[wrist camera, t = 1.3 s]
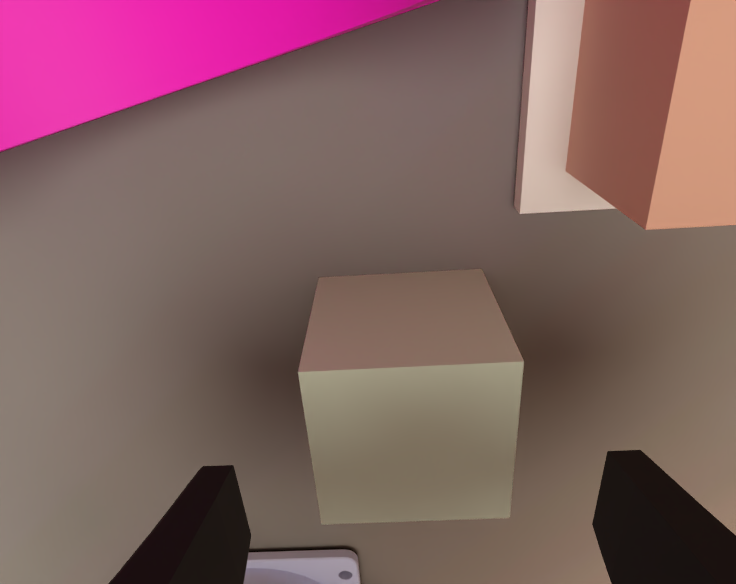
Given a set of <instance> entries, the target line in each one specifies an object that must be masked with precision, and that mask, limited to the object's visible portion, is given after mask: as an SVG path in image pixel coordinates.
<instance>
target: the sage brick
mask: <svg viewBox="0 0 736 584" xmlns="http://www.w3.org/2000/svg"><path fill="white" fill-rule="evenodd" d="M523 368H524V360H523V358H522V356H521V354H520V352H519V349H518V347H517V345H516V343H515V341H514V338H513V336H512V334H511V332H510V330H509V328H508V325H507V323H506V321H505V319H504V317H503V314H502V312H501V310H500V308H499V306H498V304H497V301H496V299H495V297H494V295H493V293H492V290H491V288H490V286H489V284H488V282H487V279H486V277H485V275H484V273H483V271H482V269H468V270H449V271H431V272H412V273H393V274H374V275H355V276H337V277H319V279H318V283H317V288H316V292H315V297H314V301H313V306H312V310H311V315H310V320H309V324H308V329H307V333H306V338H305V342H304V347H303V351H302V356H301V360H300V365H299V369H298V376H299V382H300V389H301V395H302V402H303V408H304V415H305V421H306V428H307V434H308V441H309V447H310V454H311V460H312V467H313V473H314V480H315V486H316V493H317V499H318V506H319V512H320V519H321V525H327V524H355V523H383V522H411V521H439V520H467V519H495V518H510V509H511V498H512V487H513V476H514V465H515V454H516V444H517V433H518V422H519V411H520V400H521V389H522V378H523Z"/></svg>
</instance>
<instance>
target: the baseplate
mask: <svg viewBox="0 0 736 584" xmlns="http://www.w3.org/2000/svg"><path fill="white" fill-rule="evenodd" d="M584 5H585V0H528V14H527V29H526V43H525V57H524V71H523V85H522V99H521V114H520V128H519V142H518V156H517V170H516V184H515V199H514V207H515V208H516V210H517V211H518V212H519V213H520V214H526V213H544V212H561V211H579V210H597V209H614V208H615V207H614V206H612V205H611V204H610V203H608V202H607V201H606V200H604V199H603V198H602V197H600V196H599V195H597V194H596V193H595V192H593V191H592V190H591V189H589V188H588V187H587V186H585V185H584V184H582V183H581V182H580V181H578V180H577V179H576V178H574V177H573V176H571V175H570V174H569V173H567V172H566V162H567V154H568V145H569V136H570V127H571V119H572V110H573V101H574V92H575V84H576V75H577V66H578V58H579V49H580V40H581V31H582V23H583V14H584Z"/></svg>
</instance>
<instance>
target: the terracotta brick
mask: <svg viewBox="0 0 736 584" xmlns="http://www.w3.org/2000/svg"><path fill="white" fill-rule="evenodd" d="M566 172H567V173H569V174H570V175H571V176H573V177H574V178H576V179H577V180H578V181H580V182H581V183H582V184H584V185H585V186H587V187H588V188H589V189H591V190H592V191H593V192H595V193H596V194H597V195H599V196H600V197H602V198H603V199H604V200H606V201H607V202H608V203H610V204H611V205H612V206H614V207H615V208H617V209H618V210H619V211H621V212H622V213H623V214H625V215H626V216H628V217H629V218H630V219H632V220H633V221H634V222H636V223H637V224H638V225H640V226H641V227H643V228H644V229H645V230H650V229H668V228H686V227H704V226H722V225H736V0H585V5H584V14H583V23H582V31H581V40H580V49H579V58H578V66H577V75H576V84H575V92H574V101H573V110H572V119H571V127H570V136H569V145H568V154H567V162H566Z"/></svg>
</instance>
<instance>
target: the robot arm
mask: <svg viewBox="0 0 736 584" xmlns="http://www.w3.org/2000/svg"><path fill="white" fill-rule="evenodd" d="M592 525H593V528H594V531H595V534H596V538H597V541H598V544H599V547H600V550H601V553H602V557H603V559H604V562H605V565H606V568H607V571H608V574H609V577H610V580H611V582H612V584H736V535H734V534H733V533H732V532H731V531H730V530H729V529H728V528H726V527H725V526H724V525H723V524H722V523H721V522H720V521H718V520H717V519H716V518H715V517H714V516H713V515H712V514H711V513H709V512H708V511H707V510H706V509H705V508H704V507H703V506H702V505H701V504H699V503H698V502H697V501H696V500H695V499H694V498H693V497H692V496H691V495H689V494H688V493H687V492H686V491H685V490H684V489H683V488H682V487H681V486H680V485H678V484H677V483H676V482H675V481H674V480H673V479H672V478H671V477H670V476H669V475H667V474H666V473H665V472H664V471H663V470H662V469H661V468H660V467H659V466H658V465H656V464H655V463H654V462H653V461H652V460H651V459H650V458H649V457H648V456H646V455H645V454H644V453H643V452H642V451H641V450H628V451H608V452H607V456H606V461H605V466H604V471H603V476H602V480H601V485H600V490H599V495H598V500H597V505H596V509H595V514H594V519H593V524H592ZM250 539H251V533H250V529H249V525H248V521H247V517H246V513H245V509H244V505H243V501H242V497H241V493H240V489H239V486H238V482H237V478H236V474H235V470H234V466H233V465H227V466H203V467H202V468H201V469H200V470H199V471H198V472H197V473H196V475H195V476H194V477H193V479H192V480H191V481H190V482H189V484H188V485H187V486H186V488H185V489H184V490H183V492H182V493H181V494H180V496H179V497H178V498H177V500H176V501H175V502H174V503H173V505H172V506H171V507H170V509H169V510H168V511H167V512H166V514H165V515H164V516H163V518H162V519H161V520H160V521H159V523H158V524H157V525H156V527H155V528H154V529H153V530H152V532H151V533H150V534H149V535H148V537H147V538H146V539H145V540H144V541H143V543H142V544H141V545H140V546H139V548H138V549H137V550H136V551H135V553H134V554H133V555H132V556H131V557H130V559H129V560H128V561H127V562H126V564H125V565H124V566H123V567H122V568H121V570H120V571H119V572H118V573H117V574H116V576H115V577H114V578H113V579H112V580H111V581H110V583H109V584H361V581H360V572H359V563H358V557H357V555H356V554H355V553H354V552H353V551H351V550H347V549H336V550H305V551H275V552H249V546H250Z"/></svg>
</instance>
